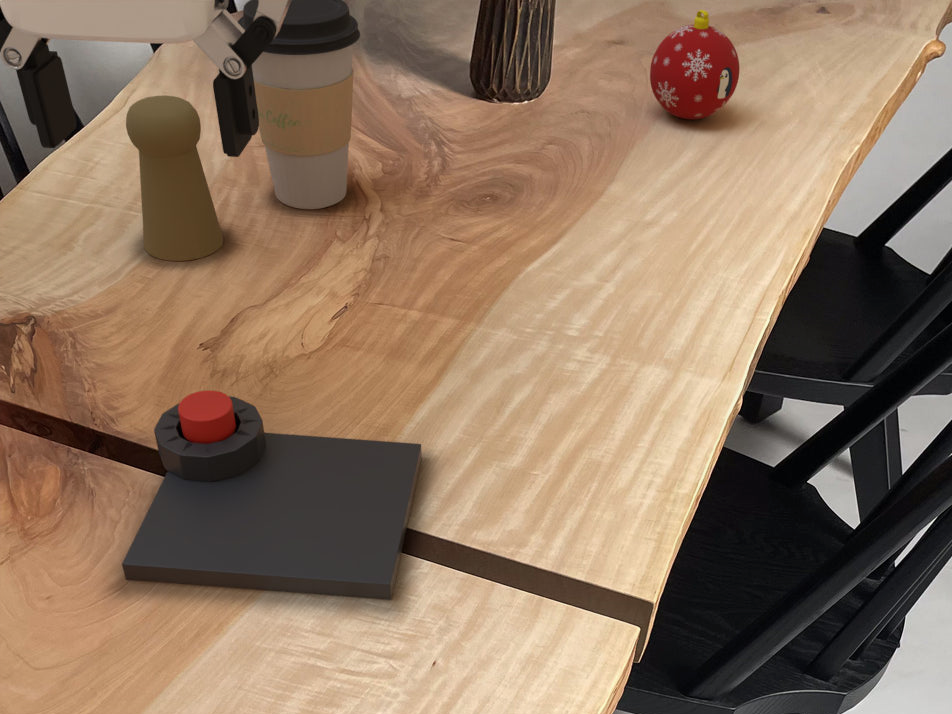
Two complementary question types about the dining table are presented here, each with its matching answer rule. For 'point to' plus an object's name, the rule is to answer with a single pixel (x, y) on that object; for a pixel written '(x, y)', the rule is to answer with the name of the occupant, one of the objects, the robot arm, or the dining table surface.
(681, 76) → the christmas ornament
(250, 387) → the dining table surface
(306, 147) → the coffee cup
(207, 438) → the scale button
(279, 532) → the dark grey button base
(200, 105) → the dining table surface
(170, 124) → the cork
